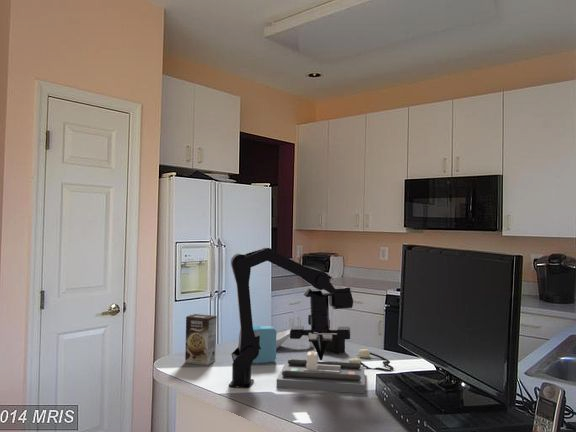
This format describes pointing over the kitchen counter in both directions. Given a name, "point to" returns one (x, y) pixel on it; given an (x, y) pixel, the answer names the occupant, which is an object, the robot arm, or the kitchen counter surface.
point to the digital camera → (334, 345)
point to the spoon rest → (283, 336)
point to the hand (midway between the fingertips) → (321, 360)
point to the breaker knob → (312, 360)
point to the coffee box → (200, 339)
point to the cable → (365, 354)
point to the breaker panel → (322, 381)
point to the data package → (266, 344)
